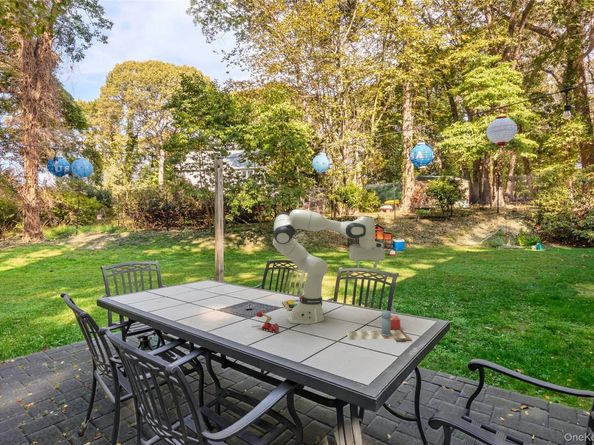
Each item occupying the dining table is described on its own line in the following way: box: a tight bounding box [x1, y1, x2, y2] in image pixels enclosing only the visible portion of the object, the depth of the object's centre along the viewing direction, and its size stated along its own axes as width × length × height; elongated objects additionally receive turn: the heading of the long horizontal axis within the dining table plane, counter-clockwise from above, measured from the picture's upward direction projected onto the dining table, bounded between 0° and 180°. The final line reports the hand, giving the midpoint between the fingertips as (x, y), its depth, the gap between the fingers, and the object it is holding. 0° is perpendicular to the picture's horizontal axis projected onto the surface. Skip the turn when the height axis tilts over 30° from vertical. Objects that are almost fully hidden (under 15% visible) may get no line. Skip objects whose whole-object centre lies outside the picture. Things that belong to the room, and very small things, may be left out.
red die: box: [390, 315, 401, 330], centre depth 190 cm, size 6×6×6 cm
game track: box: [345, 328, 413, 343], centre depth 177 cm, size 34×14×1 cm, turn 94°
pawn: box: [380, 310, 392, 336], centre depth 177 cm, size 6×6×13 cm
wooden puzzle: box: [281, 298, 300, 312], centre depth 233 cm, size 17×19×4 cm
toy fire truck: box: [256, 311, 280, 334], centre depth 187 cm, size 3×14×10 cm, turn 59°
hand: (366, 267), depth 192 cm, fingers open, 8 cm apart
